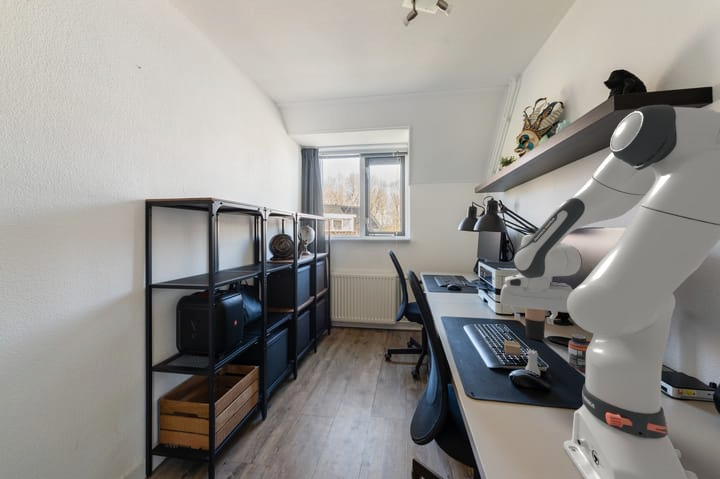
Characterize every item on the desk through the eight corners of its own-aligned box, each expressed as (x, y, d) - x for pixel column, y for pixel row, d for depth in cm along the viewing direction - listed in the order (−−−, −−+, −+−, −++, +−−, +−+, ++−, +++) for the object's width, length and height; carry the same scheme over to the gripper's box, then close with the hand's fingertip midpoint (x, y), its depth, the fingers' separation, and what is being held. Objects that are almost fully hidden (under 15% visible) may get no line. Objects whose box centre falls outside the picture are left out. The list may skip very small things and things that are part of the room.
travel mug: (521, 335, 124) (521, 293, 124) (531, 332, 128) (531, 291, 127) (538, 341, 118) (538, 296, 117) (548, 338, 121) (548, 295, 120)
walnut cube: (520, 360, 99) (520, 347, 99) (505, 358, 101) (505, 345, 101) (518, 354, 103) (518, 342, 103) (504, 352, 105) (504, 340, 105)
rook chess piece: (543, 378, 87) (543, 354, 87) (528, 377, 88) (528, 353, 88) (536, 371, 92) (537, 348, 92) (522, 370, 93) (522, 347, 92)
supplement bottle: (581, 363, 97) (582, 333, 97) (594, 372, 91) (595, 339, 91) (564, 363, 98) (564, 332, 97) (576, 371, 92) (576, 339, 91)
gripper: (569, 282, 88) (568, 322, 88) (500, 277, 96) (499, 314, 97) (575, 285, 82) (574, 329, 83) (501, 280, 91) (500, 319, 91)
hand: (533, 321), depth 90 cm, fingers open, 8 cm apart
